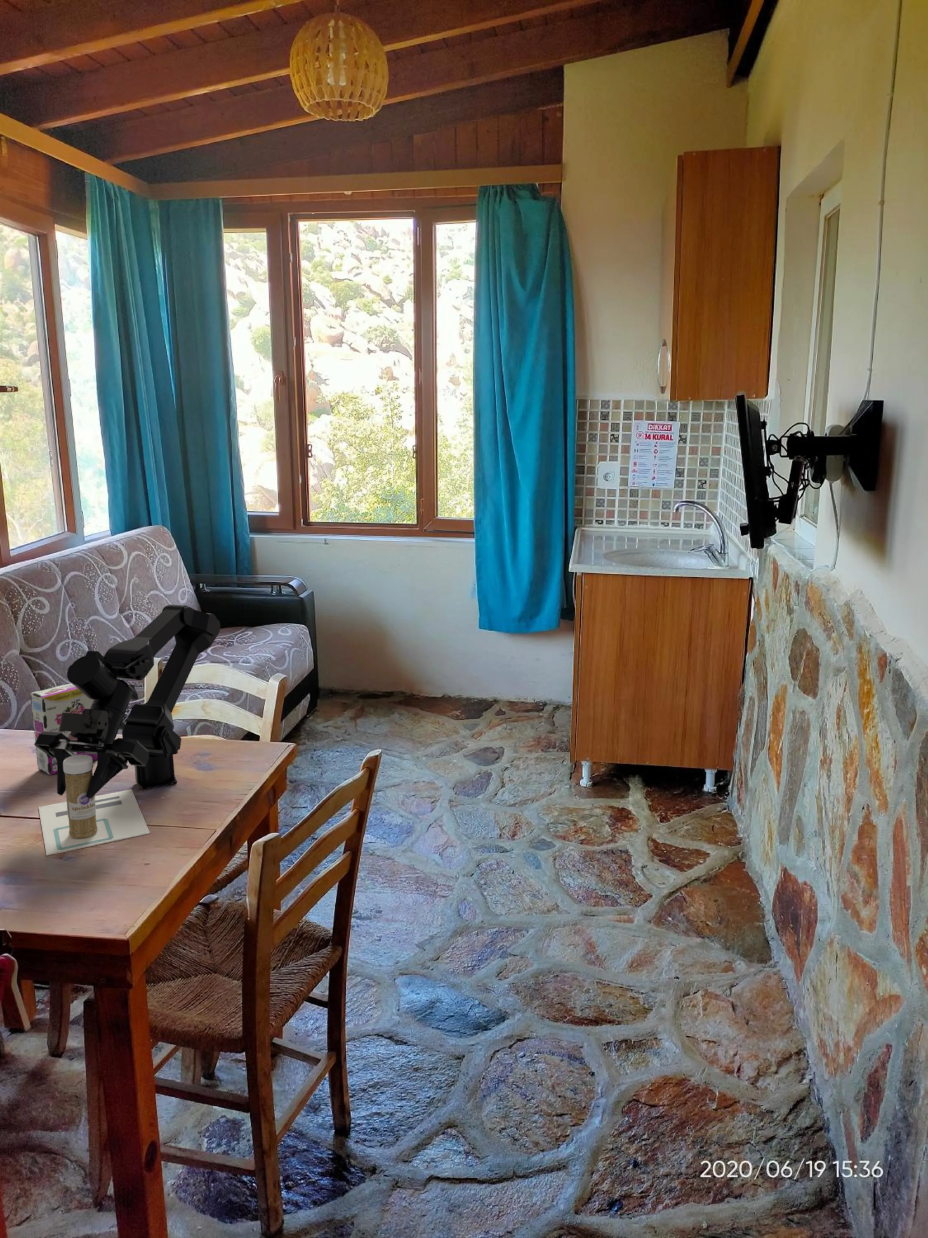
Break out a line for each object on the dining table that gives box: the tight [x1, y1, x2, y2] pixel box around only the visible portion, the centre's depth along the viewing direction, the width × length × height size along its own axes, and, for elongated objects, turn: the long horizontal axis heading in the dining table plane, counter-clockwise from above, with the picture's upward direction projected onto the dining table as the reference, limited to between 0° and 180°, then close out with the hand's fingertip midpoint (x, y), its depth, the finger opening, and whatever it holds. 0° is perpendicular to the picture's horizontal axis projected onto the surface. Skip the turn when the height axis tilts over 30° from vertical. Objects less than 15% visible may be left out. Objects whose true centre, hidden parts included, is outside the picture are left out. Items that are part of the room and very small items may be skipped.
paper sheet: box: [38, 789, 151, 857], centre depth 153 cm, size 16×20×1 cm
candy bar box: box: [29, 682, 97, 776], centre depth 175 cm, size 11×5×16 cm, turn 144°
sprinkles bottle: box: [63, 755, 98, 838], centre depth 146 cm, size 5×5×14 cm
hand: (73, 796), depth 145 cm, fingers open, 5 cm apart
